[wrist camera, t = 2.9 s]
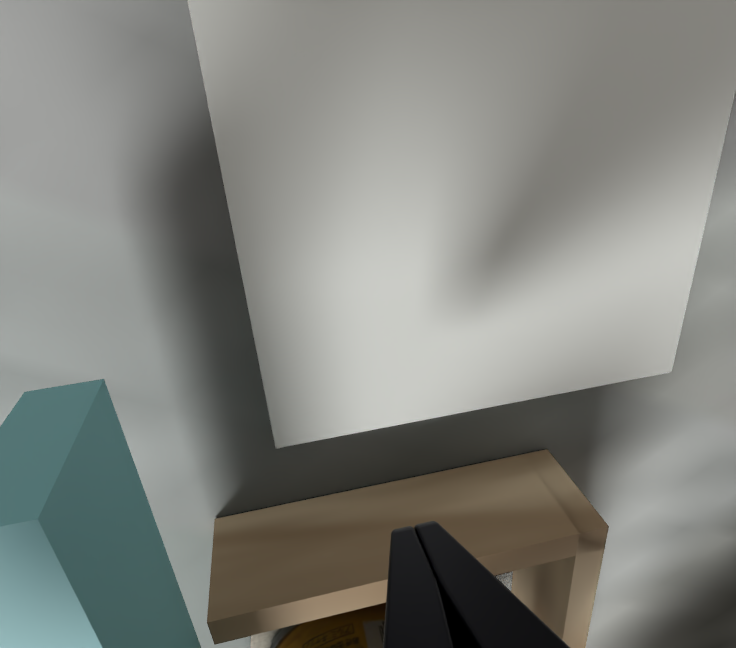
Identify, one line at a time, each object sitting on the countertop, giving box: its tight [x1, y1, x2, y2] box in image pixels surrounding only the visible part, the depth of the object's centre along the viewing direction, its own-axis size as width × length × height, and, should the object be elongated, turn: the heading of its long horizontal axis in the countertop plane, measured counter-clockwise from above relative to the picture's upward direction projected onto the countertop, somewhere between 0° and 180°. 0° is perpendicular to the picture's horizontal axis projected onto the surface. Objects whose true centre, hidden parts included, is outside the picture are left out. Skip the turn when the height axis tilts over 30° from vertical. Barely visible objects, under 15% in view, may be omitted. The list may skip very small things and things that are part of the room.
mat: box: [187, 0, 736, 448], centre depth 11 cm, size 11×11×1 cm
